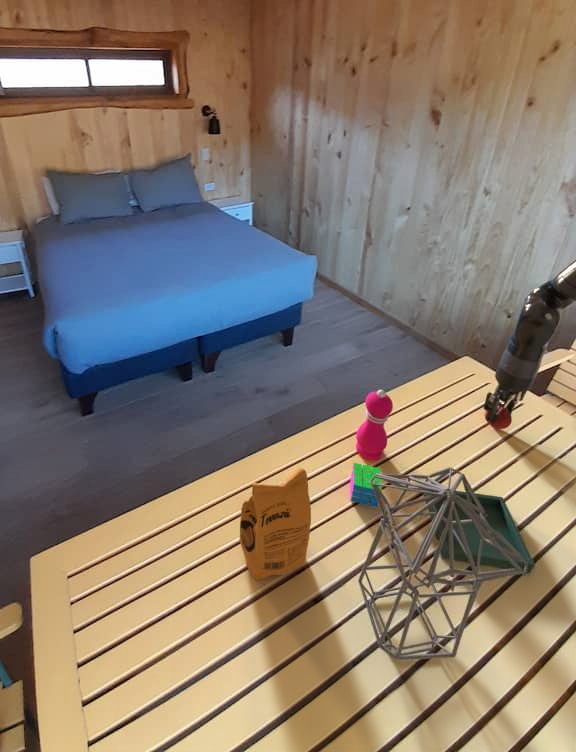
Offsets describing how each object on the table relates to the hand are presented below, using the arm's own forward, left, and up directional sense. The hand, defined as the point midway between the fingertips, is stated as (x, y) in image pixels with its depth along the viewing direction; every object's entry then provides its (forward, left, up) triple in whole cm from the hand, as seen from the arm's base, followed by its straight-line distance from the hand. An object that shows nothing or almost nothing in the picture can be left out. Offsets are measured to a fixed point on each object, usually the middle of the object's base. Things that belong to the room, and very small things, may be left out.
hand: (497, 417), depth 105 cm
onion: (0, 0, -4) cm, 4 cm away
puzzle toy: (+37, +25, -4) cm, 45 cm away
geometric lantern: (+34, +49, -4) cm, 60 cm away
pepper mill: (+34, +13, -4) cm, 37 cm away
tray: (+16, +30, -4) cm, 34 cm away
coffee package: (+57, +41, -4) cm, 70 cm away
